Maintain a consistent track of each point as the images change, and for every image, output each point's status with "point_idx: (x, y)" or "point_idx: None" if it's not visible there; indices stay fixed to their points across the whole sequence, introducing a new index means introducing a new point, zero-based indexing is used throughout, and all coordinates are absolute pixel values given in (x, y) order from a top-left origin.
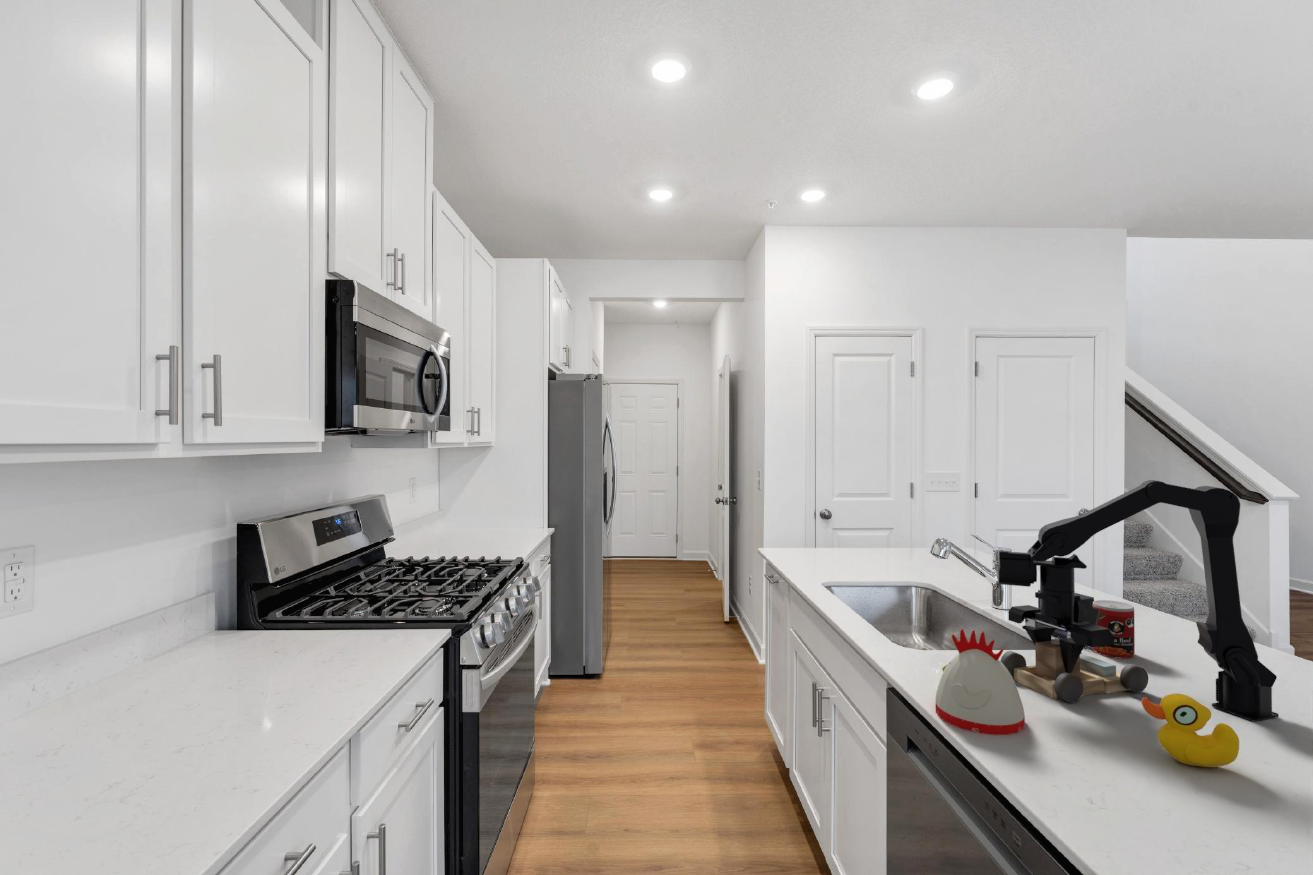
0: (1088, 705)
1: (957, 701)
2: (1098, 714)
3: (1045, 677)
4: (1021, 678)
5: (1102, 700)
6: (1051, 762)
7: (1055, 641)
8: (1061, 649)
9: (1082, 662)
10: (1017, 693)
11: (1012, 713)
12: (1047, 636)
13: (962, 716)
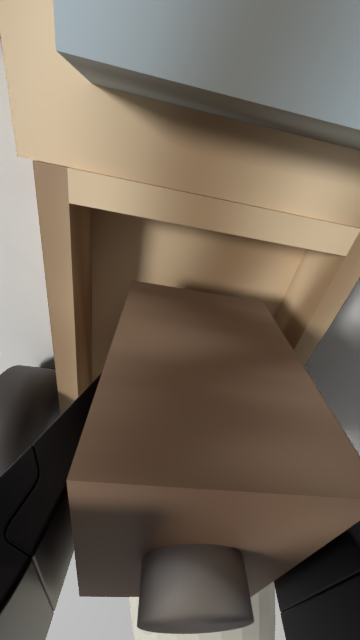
0: (319, 383)
1: None
2: (355, 409)
3: (101, 301)
4: None
5: (347, 313)
6: None
7: (202, 631)
8: (283, 600)
9: (204, 96)
10: (272, 604)
11: None
12: (23, 611)
13: None
